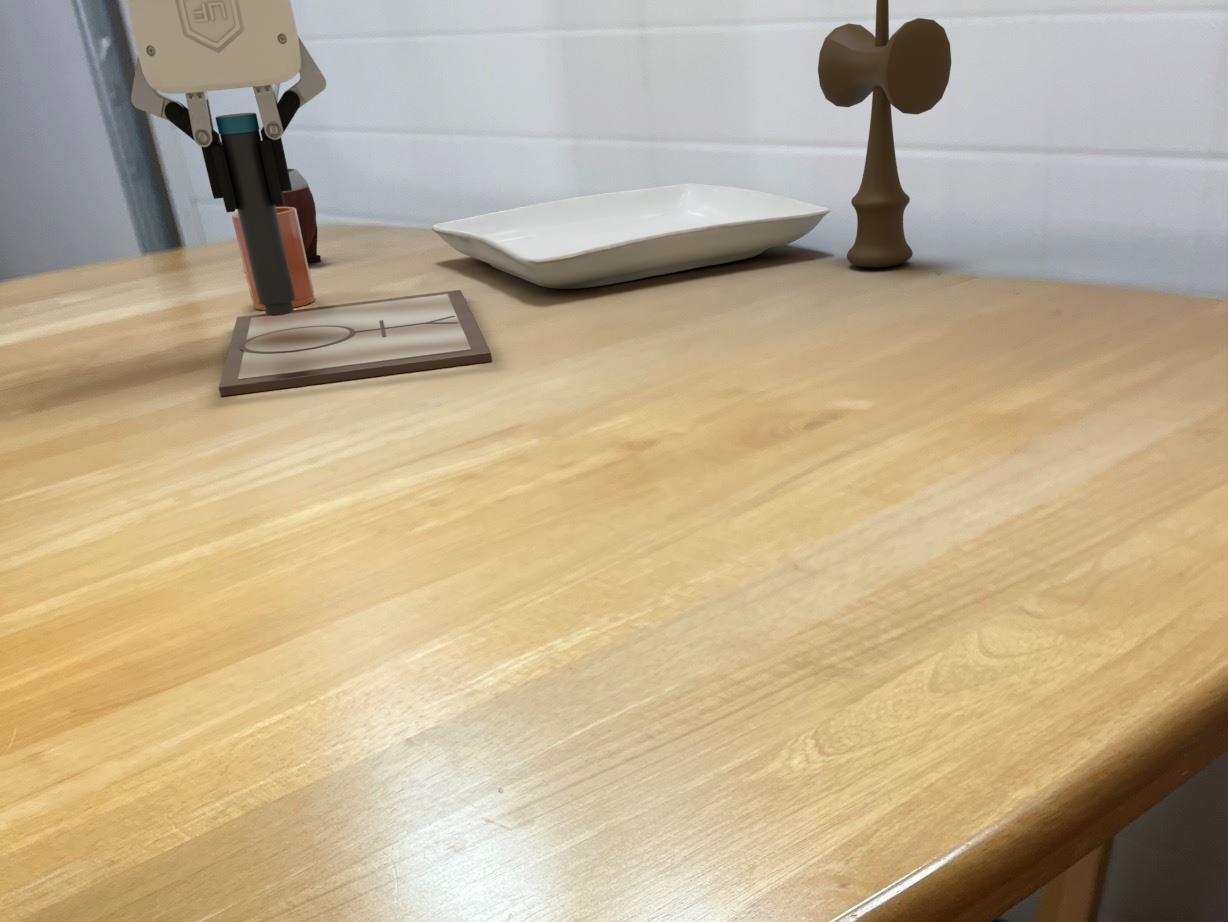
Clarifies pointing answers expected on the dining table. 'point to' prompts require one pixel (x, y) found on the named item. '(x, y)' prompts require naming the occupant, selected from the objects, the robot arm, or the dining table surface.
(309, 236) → the mate gourd
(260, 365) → the framed picture
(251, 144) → the marker
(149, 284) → the dining table surface
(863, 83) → the kendama
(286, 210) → the pen cup
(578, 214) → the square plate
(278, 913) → the dining table surface
